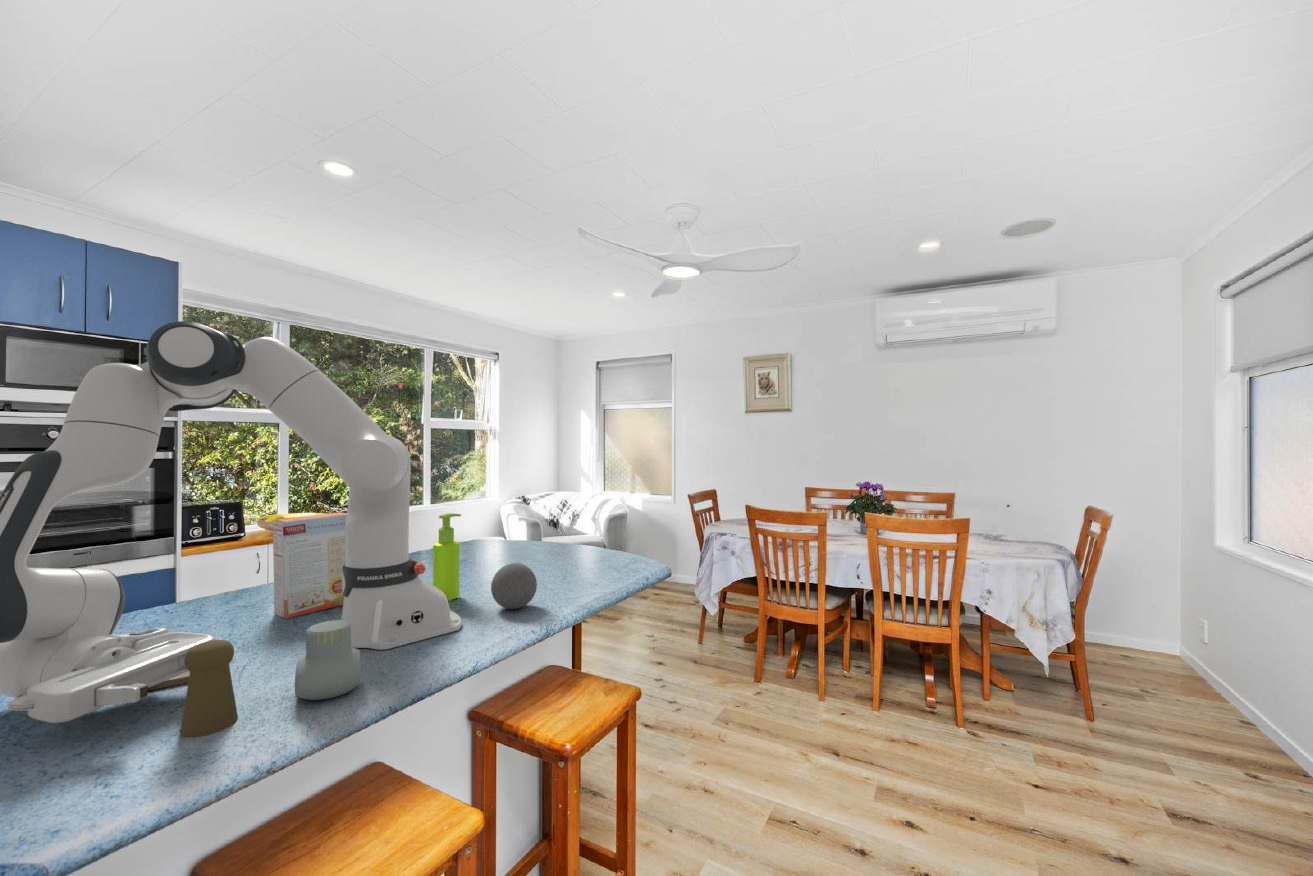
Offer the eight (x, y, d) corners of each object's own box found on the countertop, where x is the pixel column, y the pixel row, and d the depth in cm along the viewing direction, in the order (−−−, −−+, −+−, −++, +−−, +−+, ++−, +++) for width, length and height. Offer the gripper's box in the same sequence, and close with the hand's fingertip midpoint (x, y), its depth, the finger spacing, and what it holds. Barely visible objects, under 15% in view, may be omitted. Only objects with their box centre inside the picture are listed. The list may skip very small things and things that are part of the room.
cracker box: (339, 599, 131) (339, 511, 131) (352, 603, 128) (352, 513, 127) (272, 614, 120) (272, 518, 120) (283, 620, 116) (283, 520, 116)
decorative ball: (488, 604, 127) (488, 561, 127) (531, 599, 131) (531, 557, 131) (494, 617, 118) (494, 571, 118) (541, 611, 122) (541, 566, 122)
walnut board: (208, 655, 97) (208, 649, 97) (202, 680, 88) (202, 673, 88) (114, 672, 91) (114, 666, 91) (96, 700, 81) (96, 694, 81)
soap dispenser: (467, 595, 135) (467, 513, 135) (445, 602, 128) (446, 517, 128) (449, 592, 137) (449, 511, 137) (427, 599, 131) (427, 515, 131)
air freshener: (299, 683, 87) (299, 620, 87) (359, 672, 91) (359, 611, 91) (293, 714, 77) (293, 642, 77) (360, 700, 81) (360, 632, 81)
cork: (205, 739, 71) (205, 653, 71) (167, 734, 72) (167, 649, 72) (249, 716, 77) (249, 636, 77) (213, 711, 78) (213, 633, 78)
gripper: (-4, 680, 67) (89, 689, 65) (170, 623, 87) (246, 628, 85) (-3, 732, 67) (89, 742, 65) (171, 663, 87) (246, 669, 85)
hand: (179, 677), depth 75 cm, fingers open, 8 cm apart
